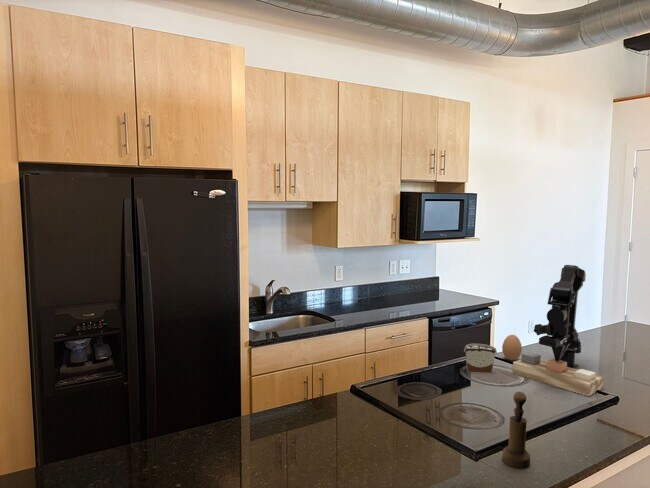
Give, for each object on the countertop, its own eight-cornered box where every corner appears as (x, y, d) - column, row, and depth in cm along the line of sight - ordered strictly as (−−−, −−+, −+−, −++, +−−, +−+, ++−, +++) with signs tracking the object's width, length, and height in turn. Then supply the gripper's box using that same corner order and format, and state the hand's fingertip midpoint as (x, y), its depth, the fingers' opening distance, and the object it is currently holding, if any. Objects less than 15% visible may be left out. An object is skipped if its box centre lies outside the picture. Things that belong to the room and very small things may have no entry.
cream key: (580, 376, 176) (580, 368, 176) (595, 380, 172) (595, 372, 172) (574, 379, 173) (574, 371, 173) (588, 383, 169) (589, 375, 169)
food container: (492, 368, 193) (493, 344, 192) (495, 374, 187) (497, 348, 186) (460, 366, 194) (461, 342, 193) (463, 372, 188) (464, 346, 187)
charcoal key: (527, 359, 192) (528, 351, 191) (540, 362, 188) (540, 354, 187) (521, 361, 188) (521, 353, 188) (533, 365, 185) (534, 357, 184)
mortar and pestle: (497, 455, 126) (501, 387, 124) (521, 454, 126) (526, 387, 125) (509, 469, 119) (513, 397, 118) (534, 468, 120) (539, 397, 118)
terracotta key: (553, 366, 184) (553, 358, 184) (566, 369, 180) (567, 361, 180) (546, 368, 181) (547, 360, 180) (560, 372, 177) (560, 364, 177)
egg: (522, 359, 205) (524, 334, 204) (518, 364, 199) (520, 338, 198) (503, 356, 209) (505, 331, 208) (499, 360, 203) (501, 335, 202)
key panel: (528, 367, 195) (528, 356, 195) (602, 389, 174) (603, 376, 173) (512, 373, 188) (513, 362, 187) (588, 397, 166) (589, 384, 166)
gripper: (550, 312, 191) (547, 351, 192) (526, 318, 179) (523, 359, 180) (579, 317, 182) (577, 358, 184) (556, 324, 170) (553, 368, 172)
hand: (557, 360), depth 180 cm, fingers closed
